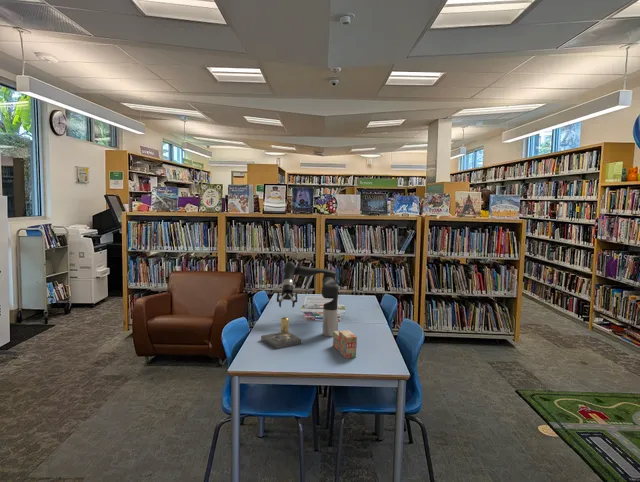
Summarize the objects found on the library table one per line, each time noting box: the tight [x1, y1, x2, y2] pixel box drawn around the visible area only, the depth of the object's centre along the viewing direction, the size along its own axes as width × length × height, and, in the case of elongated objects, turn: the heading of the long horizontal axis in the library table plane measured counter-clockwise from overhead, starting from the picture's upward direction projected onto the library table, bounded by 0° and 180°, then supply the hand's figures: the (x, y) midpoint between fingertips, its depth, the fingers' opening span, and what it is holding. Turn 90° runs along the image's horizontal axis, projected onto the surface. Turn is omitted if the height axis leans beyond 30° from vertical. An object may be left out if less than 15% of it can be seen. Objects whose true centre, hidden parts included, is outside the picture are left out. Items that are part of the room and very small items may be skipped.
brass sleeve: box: [280, 316, 290, 333], centre depth 267 cm, size 5×5×10 cm
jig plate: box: [260, 331, 303, 350], centre depth 250 cm, size 18×18×3 cm
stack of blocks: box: [332, 329, 358, 359], centre depth 237 cm, size 21×6×12 cm, turn 19°
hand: (286, 306), depth 278 cm, fingers open, 8 cm apart
